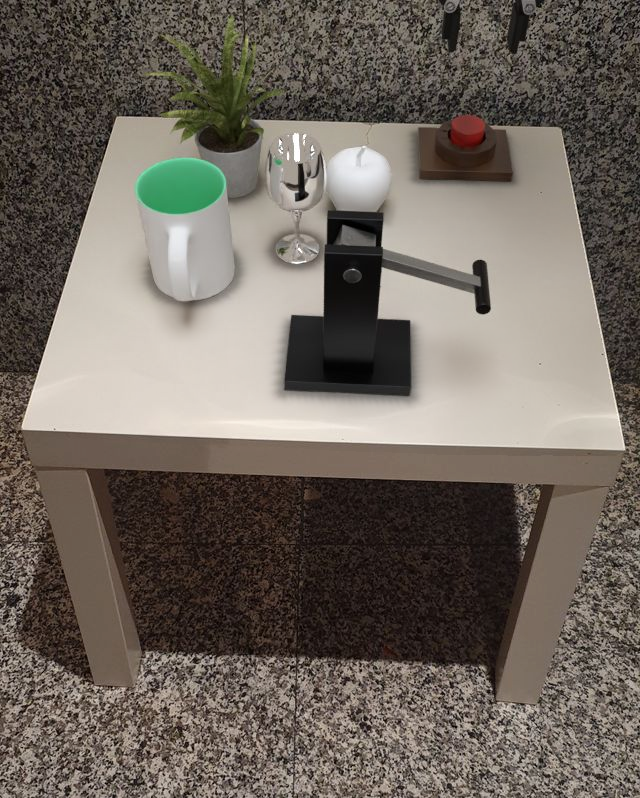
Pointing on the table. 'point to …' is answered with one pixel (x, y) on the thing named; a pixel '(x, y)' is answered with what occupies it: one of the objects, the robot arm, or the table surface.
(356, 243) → the lever
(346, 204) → the plain white apple
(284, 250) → the wineglass
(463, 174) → the button block
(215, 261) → the mug
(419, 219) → the table surface
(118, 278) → the table surface
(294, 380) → the bracket
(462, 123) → the button
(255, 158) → the house plant
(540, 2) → the robot arm
